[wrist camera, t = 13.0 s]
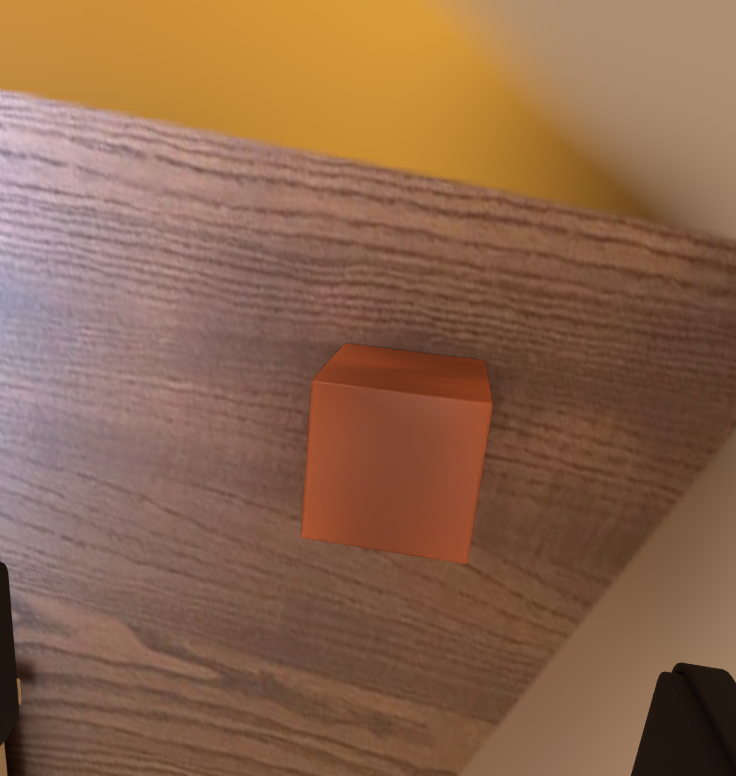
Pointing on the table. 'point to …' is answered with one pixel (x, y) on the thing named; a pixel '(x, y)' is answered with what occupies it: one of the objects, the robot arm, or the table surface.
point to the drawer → (0, 756)
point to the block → (396, 451)
